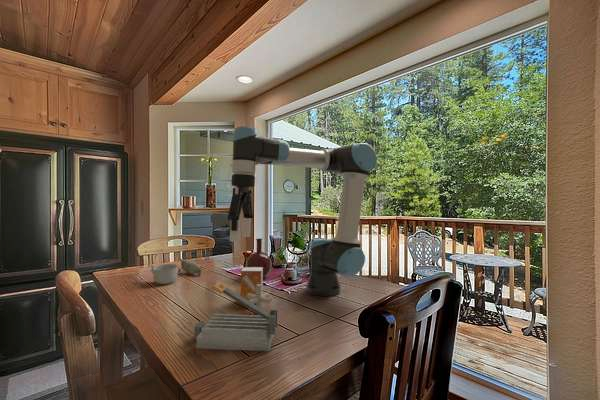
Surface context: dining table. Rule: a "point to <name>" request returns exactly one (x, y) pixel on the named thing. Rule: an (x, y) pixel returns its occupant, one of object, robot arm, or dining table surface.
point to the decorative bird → (190, 267)
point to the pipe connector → (259, 297)
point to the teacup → (164, 273)
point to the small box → (250, 280)
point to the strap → (239, 299)
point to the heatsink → (237, 332)
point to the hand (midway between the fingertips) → (240, 239)
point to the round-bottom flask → (260, 259)
